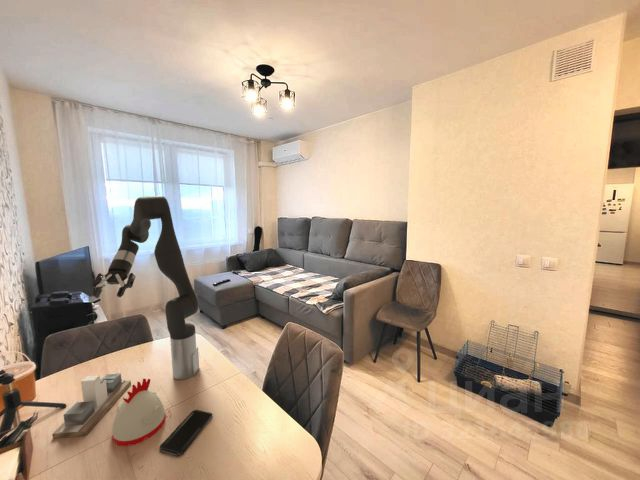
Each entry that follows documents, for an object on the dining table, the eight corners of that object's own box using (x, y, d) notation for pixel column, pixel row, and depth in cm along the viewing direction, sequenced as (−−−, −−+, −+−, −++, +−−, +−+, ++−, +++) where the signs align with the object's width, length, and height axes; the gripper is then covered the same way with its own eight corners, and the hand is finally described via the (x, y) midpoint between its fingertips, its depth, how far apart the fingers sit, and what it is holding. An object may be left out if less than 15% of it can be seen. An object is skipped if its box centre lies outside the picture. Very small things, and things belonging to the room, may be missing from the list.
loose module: (107, 396, 92) (104, 370, 91) (97, 407, 87) (94, 380, 86) (95, 397, 92) (92, 371, 90) (84, 408, 87) (80, 381, 85)
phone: (157, 448, 74) (194, 409, 89) (157, 452, 74) (194, 412, 89) (180, 455, 72) (214, 413, 87) (180, 459, 73) (214, 416, 87)
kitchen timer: (175, 415, 87) (172, 374, 85) (133, 452, 74) (129, 405, 72) (145, 404, 91) (142, 365, 89) (101, 437, 79) (96, 392, 76)
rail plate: (130, 383, 102) (129, 369, 101) (85, 435, 79) (83, 417, 78) (106, 385, 100) (104, 370, 100) (52, 438, 78) (50, 419, 77)
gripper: (100, 258, 111) (82, 293, 101) (135, 258, 113) (121, 292, 103) (109, 267, 117) (93, 301, 107) (143, 267, 119) (130, 300, 109)
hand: (107, 296), depth 105 cm, fingers open, 8 cm apart
